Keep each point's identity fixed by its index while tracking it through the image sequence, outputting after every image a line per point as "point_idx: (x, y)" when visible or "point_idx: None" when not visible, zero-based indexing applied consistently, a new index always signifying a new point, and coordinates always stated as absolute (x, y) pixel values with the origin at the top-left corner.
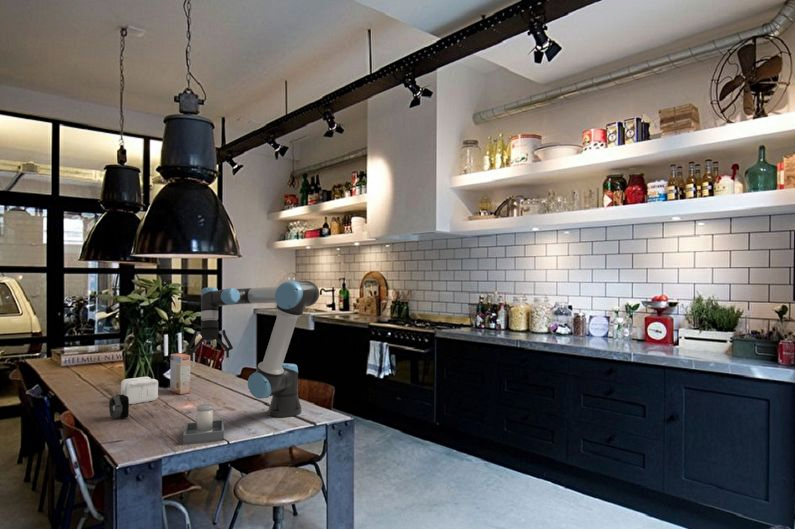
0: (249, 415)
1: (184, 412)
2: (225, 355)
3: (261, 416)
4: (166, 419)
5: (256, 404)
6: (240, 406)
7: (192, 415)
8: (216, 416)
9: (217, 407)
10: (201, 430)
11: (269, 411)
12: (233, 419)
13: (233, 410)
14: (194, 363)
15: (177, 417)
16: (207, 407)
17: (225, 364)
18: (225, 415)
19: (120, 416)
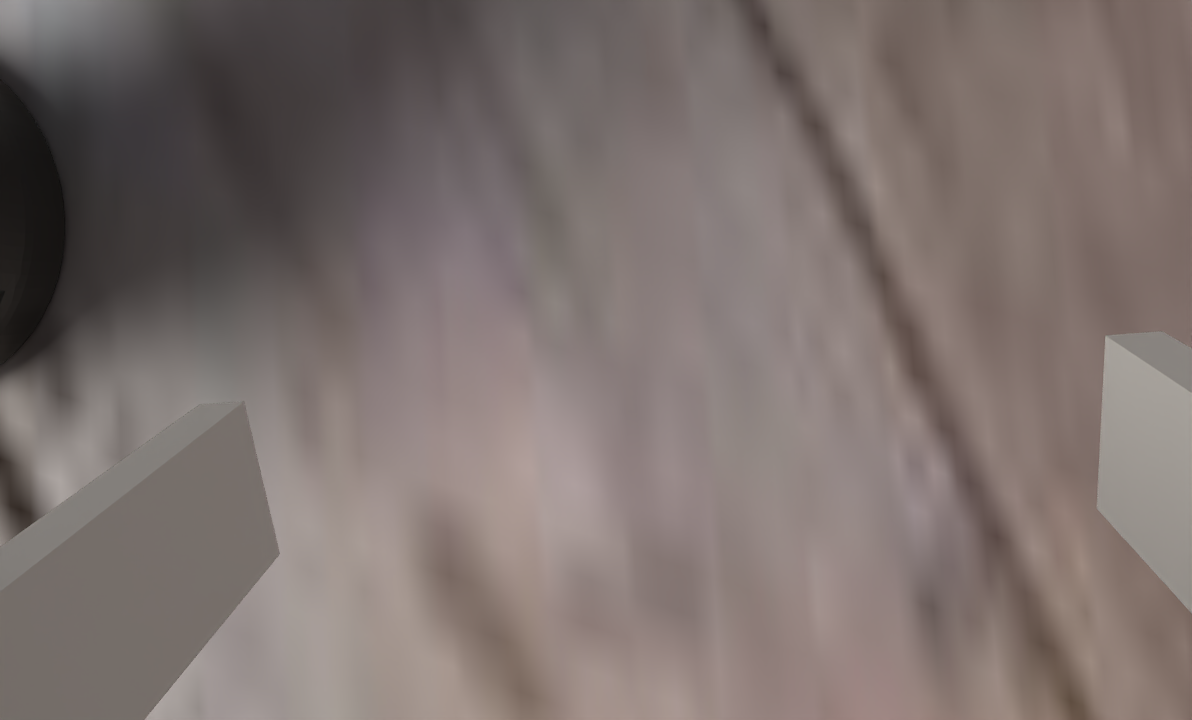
0: (260, 237)
1: (995, 615)
2: (43, 536)
3: (137, 155)
4: None
5: (200, 697)
6: (369, 669)
7: (888, 442)
8: (611, 308)
9: (624, 716)
10: None
11: (25, 157)
12: (421, 120)
13: (438, 514)
14: (1172, 372)
15: (1058, 407)
16: None
17: (217, 406)
18: (515, 320)
19: None
